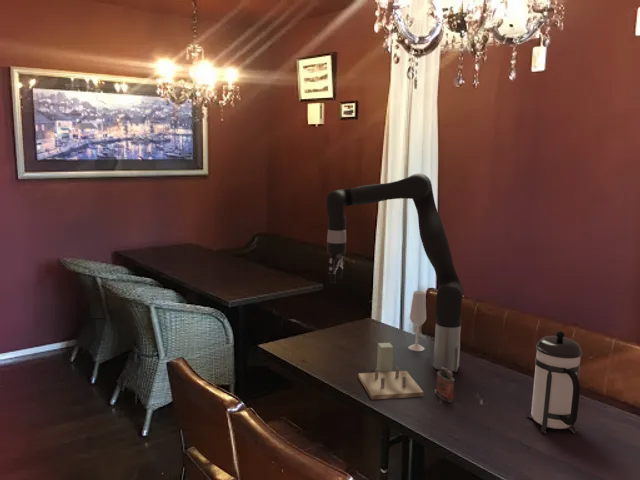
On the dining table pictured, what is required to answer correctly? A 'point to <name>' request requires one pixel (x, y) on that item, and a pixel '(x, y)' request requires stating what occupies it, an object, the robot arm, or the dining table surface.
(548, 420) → the coffee press
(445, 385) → the lighter
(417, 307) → the champagne flute
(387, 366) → the sage block
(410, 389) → the peg board
